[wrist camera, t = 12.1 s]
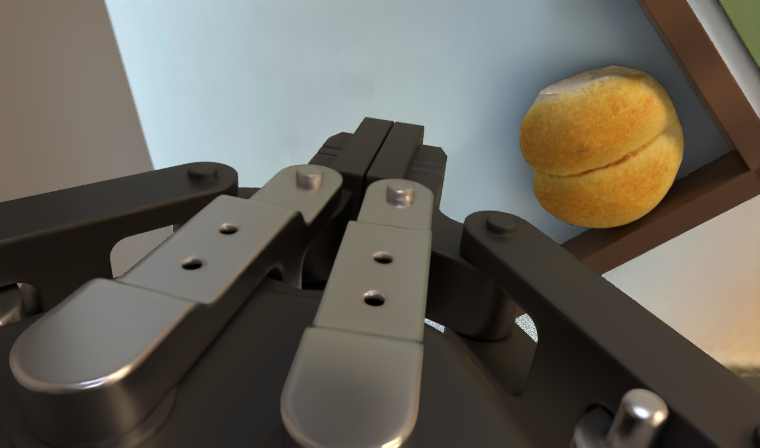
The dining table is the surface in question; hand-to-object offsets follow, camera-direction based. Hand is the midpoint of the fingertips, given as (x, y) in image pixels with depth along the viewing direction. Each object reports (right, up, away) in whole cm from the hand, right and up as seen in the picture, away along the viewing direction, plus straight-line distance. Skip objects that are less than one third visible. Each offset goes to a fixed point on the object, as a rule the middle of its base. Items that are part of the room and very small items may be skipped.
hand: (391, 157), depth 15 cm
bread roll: (+12, +3, +19) cm, 23 cm away
